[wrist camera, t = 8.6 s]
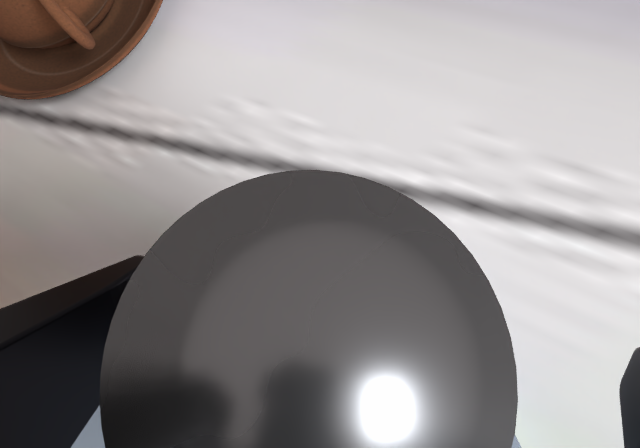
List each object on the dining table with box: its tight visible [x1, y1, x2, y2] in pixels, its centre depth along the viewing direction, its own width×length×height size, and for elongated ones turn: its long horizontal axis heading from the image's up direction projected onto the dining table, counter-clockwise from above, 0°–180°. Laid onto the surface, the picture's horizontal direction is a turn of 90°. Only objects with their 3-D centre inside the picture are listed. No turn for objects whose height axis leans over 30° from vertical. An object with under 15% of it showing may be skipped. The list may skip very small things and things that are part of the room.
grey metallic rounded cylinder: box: [99, 170, 518, 448], centre depth 11 cm, size 4×4×12 cm
